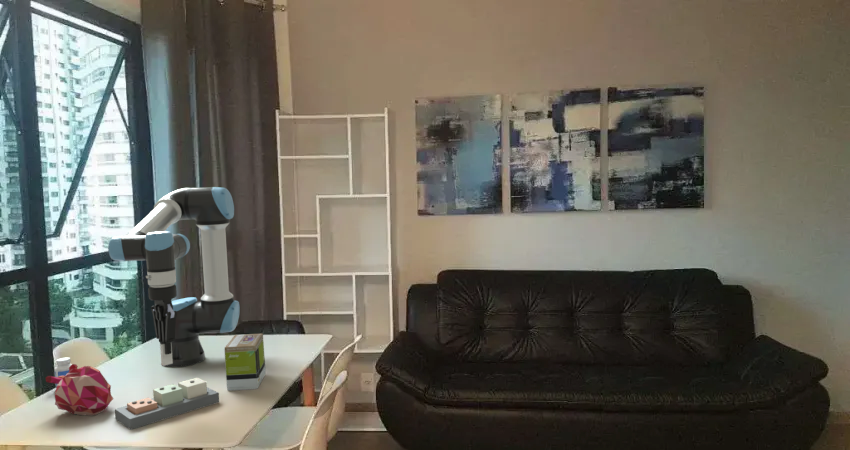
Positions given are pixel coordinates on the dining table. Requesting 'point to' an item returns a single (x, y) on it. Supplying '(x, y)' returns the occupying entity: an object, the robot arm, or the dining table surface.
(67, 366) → the pill bottle
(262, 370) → the tea box
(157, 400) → the tile two
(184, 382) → the tile one
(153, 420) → the button board
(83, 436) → the dining table surface
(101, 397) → the sculpture
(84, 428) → the dining table surface
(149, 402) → the tile three
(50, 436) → the dining table surface
